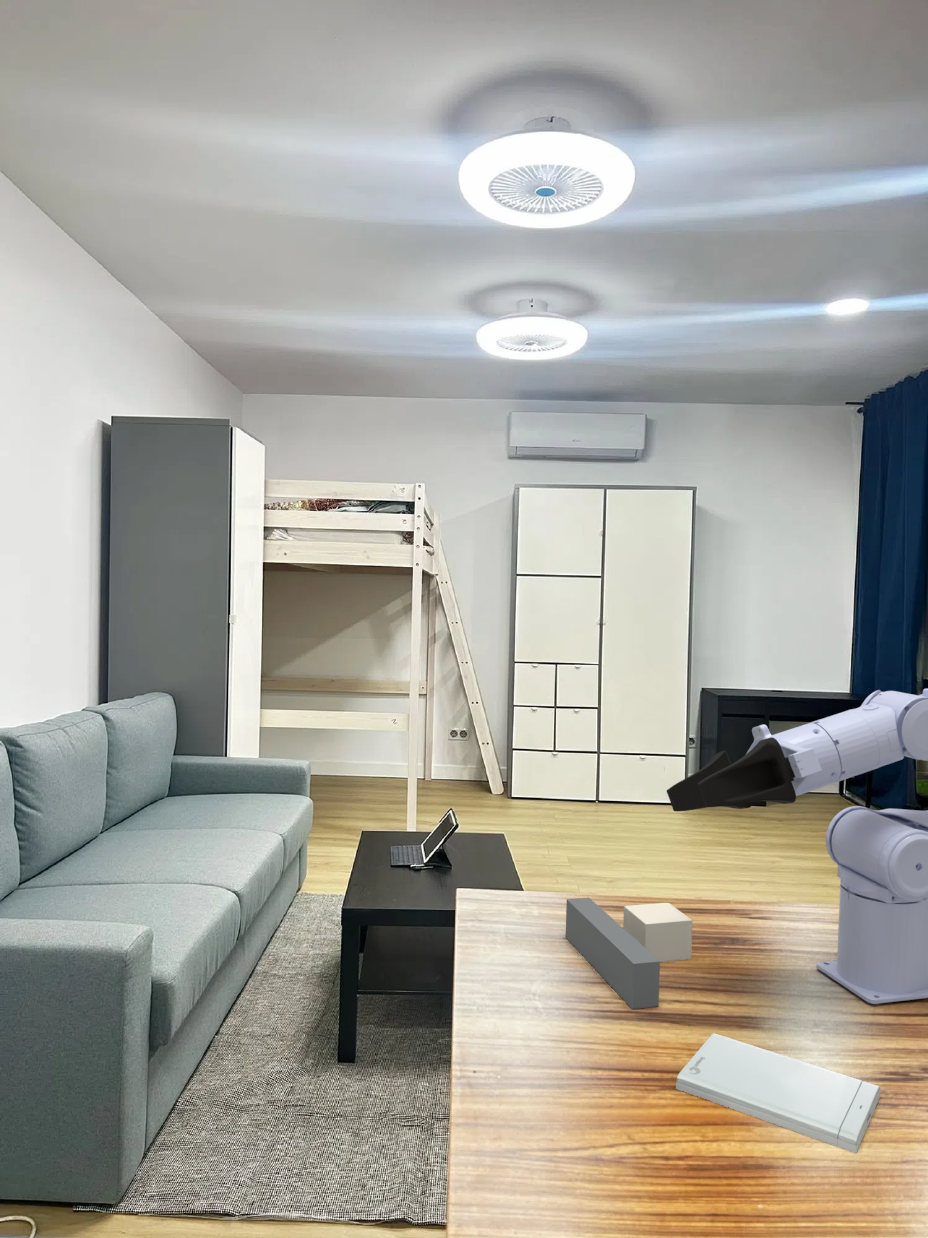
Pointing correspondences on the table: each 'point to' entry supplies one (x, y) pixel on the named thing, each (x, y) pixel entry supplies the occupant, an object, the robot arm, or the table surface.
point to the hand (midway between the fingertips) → (685, 798)
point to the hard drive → (781, 1091)
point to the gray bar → (613, 953)
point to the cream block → (660, 930)
